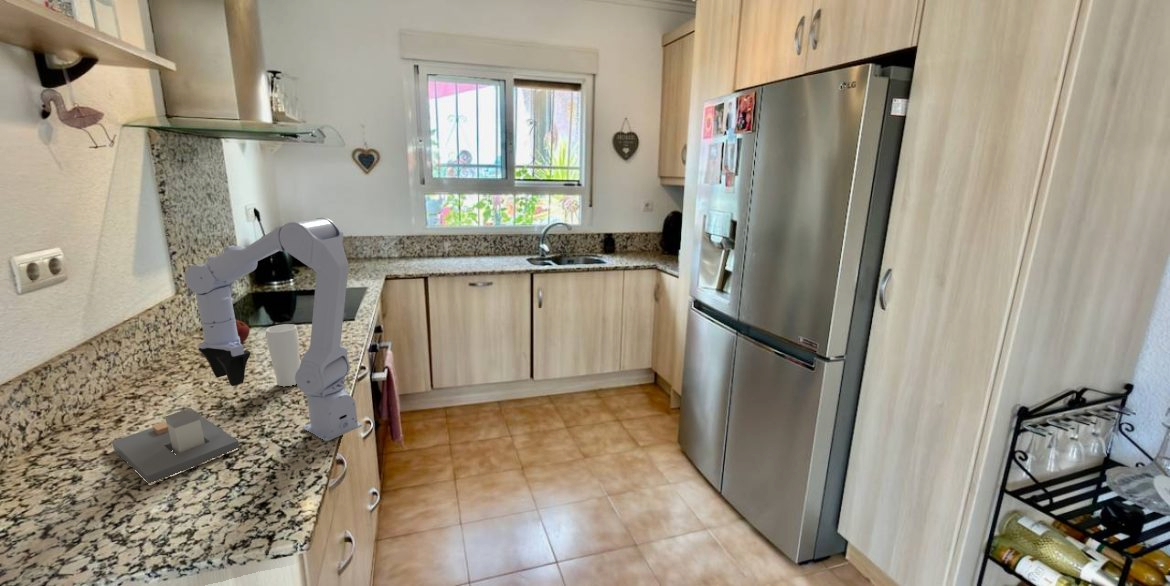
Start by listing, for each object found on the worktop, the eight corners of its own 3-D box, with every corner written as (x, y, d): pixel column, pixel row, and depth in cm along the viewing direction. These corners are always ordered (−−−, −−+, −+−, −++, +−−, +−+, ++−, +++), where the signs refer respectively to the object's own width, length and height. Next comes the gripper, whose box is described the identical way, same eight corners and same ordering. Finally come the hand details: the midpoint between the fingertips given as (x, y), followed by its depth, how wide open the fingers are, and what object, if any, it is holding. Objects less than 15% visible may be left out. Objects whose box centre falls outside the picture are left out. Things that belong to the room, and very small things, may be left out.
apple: (243, 347, 152) (239, 323, 150) (215, 349, 151) (210, 324, 149) (255, 339, 159) (251, 316, 157) (228, 341, 158) (224, 317, 156)
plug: (206, 450, 97) (199, 413, 95) (181, 460, 94) (173, 422, 92) (198, 444, 99) (190, 408, 97) (173, 453, 96) (164, 416, 94)
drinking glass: (270, 390, 123) (261, 333, 120) (279, 379, 130) (270, 324, 126) (300, 387, 125) (292, 331, 121) (307, 376, 131) (299, 322, 128)
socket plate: (239, 449, 97) (237, 436, 97) (149, 486, 86) (145, 471, 85) (198, 421, 108) (196, 408, 108) (114, 450, 97) (110, 436, 96)
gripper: (181, 318, 104) (193, 378, 107) (210, 331, 96) (222, 395, 100) (220, 310, 110) (230, 367, 113) (250, 322, 102) (260, 383, 105)
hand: (229, 380), depth 107 cm, fingers open, 7 cm apart
